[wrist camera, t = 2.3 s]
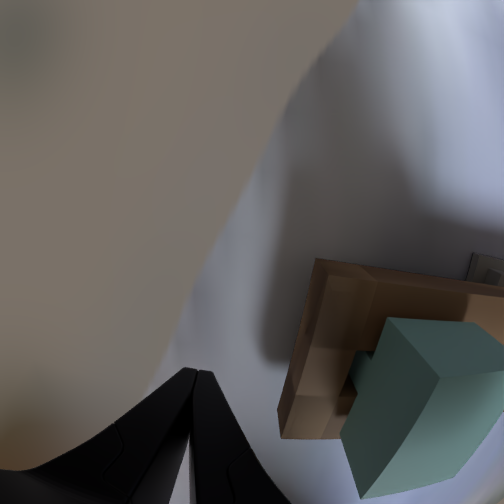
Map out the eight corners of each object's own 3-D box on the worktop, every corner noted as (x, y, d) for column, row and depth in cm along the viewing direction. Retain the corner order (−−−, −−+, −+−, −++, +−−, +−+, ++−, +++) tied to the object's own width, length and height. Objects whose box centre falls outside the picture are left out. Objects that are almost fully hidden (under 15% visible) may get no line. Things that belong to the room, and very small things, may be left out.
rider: (405, 398, 12) (453, 477, 7) (328, 400, 12) (360, 499, 7) (446, 301, 11) (528, 366, 6) (364, 292, 10) (440, 377, 5)
